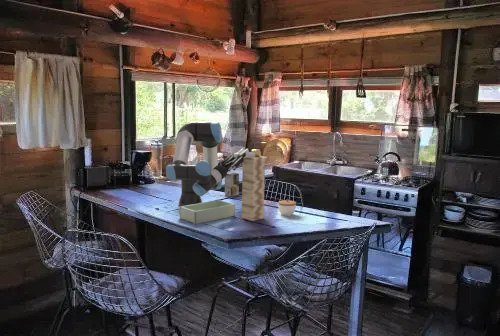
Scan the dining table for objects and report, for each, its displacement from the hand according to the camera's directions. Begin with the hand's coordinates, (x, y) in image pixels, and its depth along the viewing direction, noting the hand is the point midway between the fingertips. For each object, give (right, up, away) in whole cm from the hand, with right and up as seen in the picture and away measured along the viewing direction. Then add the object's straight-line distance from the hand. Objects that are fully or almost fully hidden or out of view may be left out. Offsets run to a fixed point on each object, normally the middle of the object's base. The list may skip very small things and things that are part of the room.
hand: (245, 150), depth 231 cm
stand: (+4, -39, +10) cm, 41 cm away
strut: (+1, -4, +1) cm, 4 cm away
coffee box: (-11, -30, +73) cm, 80 cm away
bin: (-22, -39, +10) cm, 46 cm away
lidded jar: (+25, -38, +19) cm, 50 cm away
